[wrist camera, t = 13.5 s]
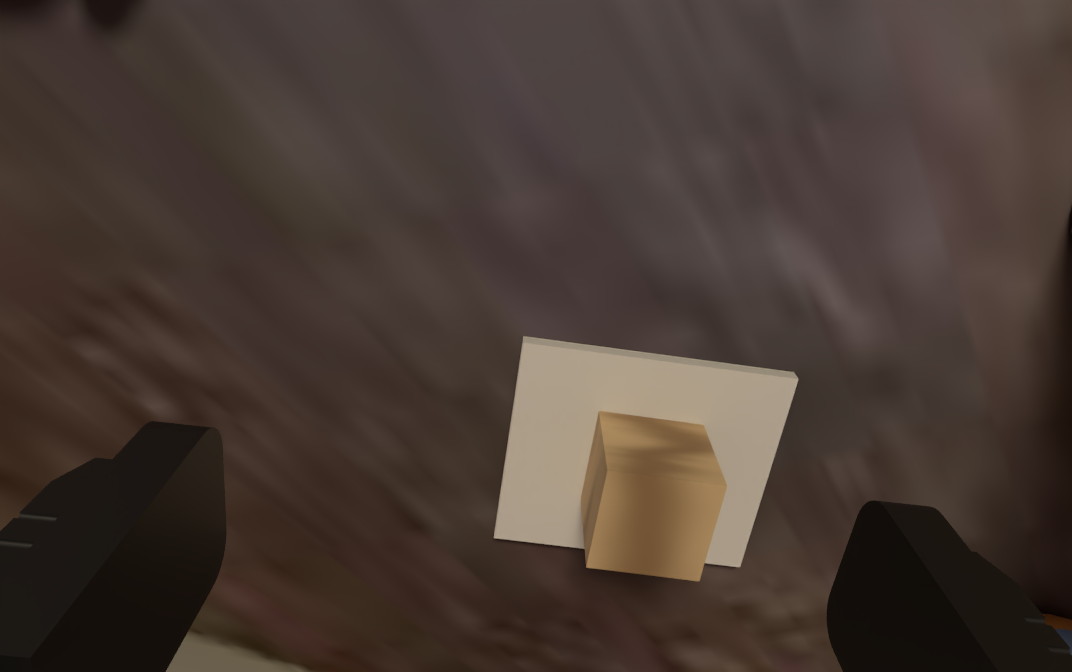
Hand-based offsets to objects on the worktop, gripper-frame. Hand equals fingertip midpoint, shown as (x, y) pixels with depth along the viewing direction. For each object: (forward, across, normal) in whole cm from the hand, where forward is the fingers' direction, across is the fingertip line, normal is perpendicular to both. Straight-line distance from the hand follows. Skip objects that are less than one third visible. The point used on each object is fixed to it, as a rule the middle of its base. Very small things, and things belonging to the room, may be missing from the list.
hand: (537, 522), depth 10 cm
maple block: (+27, -8, +16) cm, 32 cm away
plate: (+27, -7, +16) cm, 32 cm away
